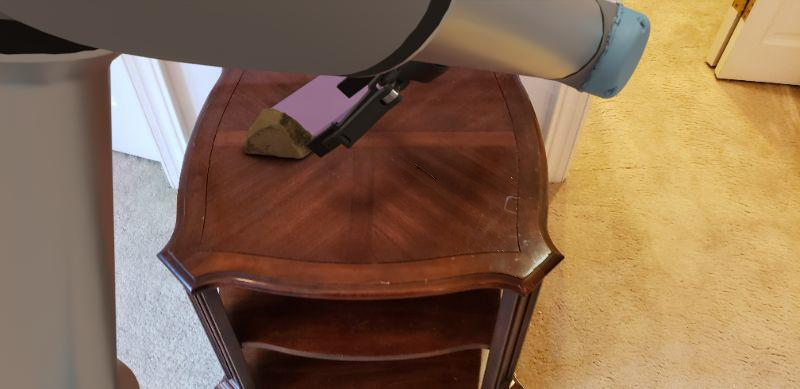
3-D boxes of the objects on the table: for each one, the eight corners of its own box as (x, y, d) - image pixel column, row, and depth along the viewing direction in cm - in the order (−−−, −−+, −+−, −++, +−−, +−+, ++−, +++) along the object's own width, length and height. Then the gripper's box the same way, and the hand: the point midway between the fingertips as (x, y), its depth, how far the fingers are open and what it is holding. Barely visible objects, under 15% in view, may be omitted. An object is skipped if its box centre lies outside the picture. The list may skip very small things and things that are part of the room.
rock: (223, 151, 86) (270, 168, 81) (232, 96, 84) (280, 111, 80) (272, 151, 95) (316, 167, 91) (281, 102, 94) (327, 115, 89)
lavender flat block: (322, 143, 90) (322, 140, 90) (268, 112, 96) (267, 109, 95) (391, 90, 100) (391, 87, 99) (338, 64, 105) (338, 61, 105)
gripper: (435, 127, 61) (321, 195, 74) (469, 12, 77) (370, 86, 91) (388, 80, 58) (277, 161, 71) (433, -28, 74) (336, 54, 88)
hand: (329, 119), depth 81 cm, fingers open, 13 cm apart
